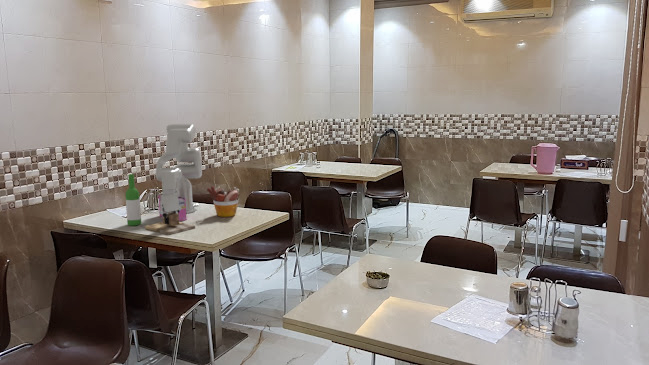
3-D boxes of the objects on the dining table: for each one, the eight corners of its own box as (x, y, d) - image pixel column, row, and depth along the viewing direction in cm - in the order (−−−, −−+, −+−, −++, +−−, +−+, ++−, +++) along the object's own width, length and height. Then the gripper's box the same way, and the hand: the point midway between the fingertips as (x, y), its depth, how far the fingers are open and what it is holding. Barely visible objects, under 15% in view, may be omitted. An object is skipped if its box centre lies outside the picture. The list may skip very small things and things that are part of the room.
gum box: (158, 215, 322) (156, 194, 320) (169, 213, 327) (168, 193, 325) (175, 222, 305) (173, 200, 302) (187, 220, 310) (186, 198, 308)
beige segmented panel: (171, 222, 303) (171, 219, 303) (184, 225, 296) (184, 222, 296) (145, 228, 289) (145, 225, 289) (157, 231, 282) (157, 229, 282)
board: (185, 225, 296) (185, 223, 295) (195, 228, 290) (195, 225, 290) (159, 232, 281) (158, 229, 281) (168, 234, 276) (168, 232, 276)
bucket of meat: (233, 211, 334) (232, 181, 330) (245, 215, 321) (244, 184, 317) (205, 215, 322) (204, 184, 319) (216, 220, 309) (215, 188, 306)
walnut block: (170, 222, 293) (170, 212, 292) (179, 224, 288) (178, 213, 287) (163, 223, 289) (162, 213, 288) (172, 225, 284) (171, 215, 283)
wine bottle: (125, 224, 300) (122, 174, 295) (139, 222, 304) (135, 173, 299) (129, 226, 294) (125, 176, 289) (143, 224, 298) (139, 174, 293)
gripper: (177, 188, 294) (179, 219, 298) (152, 193, 281) (154, 225, 284) (185, 190, 290) (187, 221, 293) (160, 194, 277) (162, 227, 280)
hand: (171, 222), depth 289 cm, fingers closed on walnut block, 4 cm apart
